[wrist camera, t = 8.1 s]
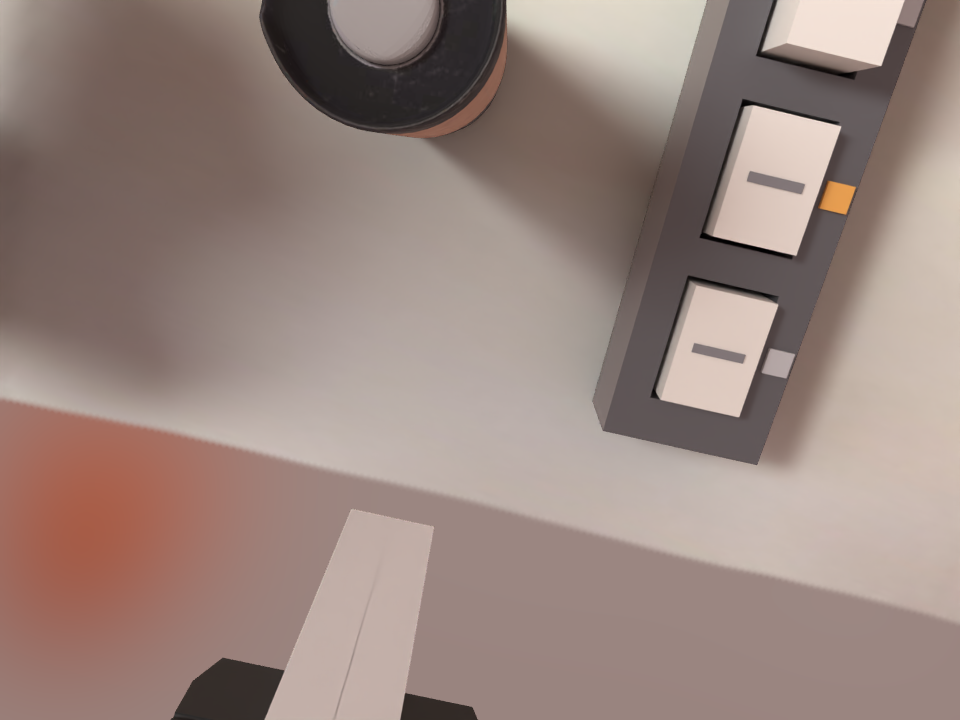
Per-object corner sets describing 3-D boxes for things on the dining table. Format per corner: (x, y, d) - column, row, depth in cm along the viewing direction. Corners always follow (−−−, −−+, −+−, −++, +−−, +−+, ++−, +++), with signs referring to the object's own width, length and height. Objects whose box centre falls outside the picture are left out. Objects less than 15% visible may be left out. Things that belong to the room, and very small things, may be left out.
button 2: (688, 225, 42) (712, 236, 37) (723, 109, 40) (753, 105, 35) (763, 242, 42) (796, 256, 37) (801, 128, 41) (842, 126, 36)
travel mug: (531, 89, 41) (557, 44, 22) (417, 164, 43) (349, 184, 24) (458, -39, 40) (417, -208, 20) (341, 43, 41) (200, -43, 22)
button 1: (643, 372, 45) (660, 400, 40) (674, 269, 43) (696, 285, 38) (713, 388, 45) (739, 418, 40) (747, 286, 43) (779, 304, 38)
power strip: (592, 400, 46) (603, 431, 41) (782, -263, 36) (827, -327, 31) (730, 432, 47) (758, 466, 42) (956, -218, 37) (1028, -274, 32)
